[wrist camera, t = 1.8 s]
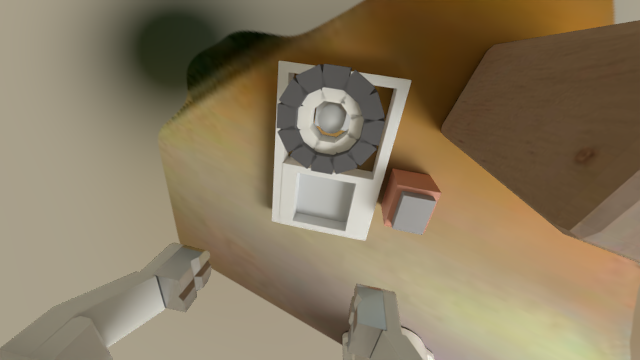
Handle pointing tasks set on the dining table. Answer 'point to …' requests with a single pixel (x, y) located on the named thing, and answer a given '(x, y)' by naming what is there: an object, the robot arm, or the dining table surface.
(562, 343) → the dining table surface
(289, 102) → the wheel
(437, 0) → the dining table surface
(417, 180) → the two-tone grey-capped cube
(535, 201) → the wooden block
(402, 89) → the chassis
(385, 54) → the dining table surface
